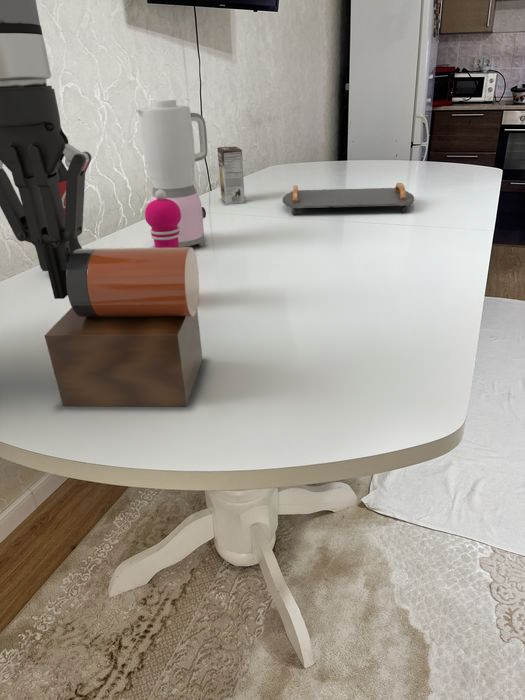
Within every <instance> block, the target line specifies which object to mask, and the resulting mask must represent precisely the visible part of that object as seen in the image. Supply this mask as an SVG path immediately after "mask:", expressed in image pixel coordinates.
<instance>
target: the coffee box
mask: <svg viewBox="0 0 525 700" xmlns="http://www.w3.org/2000/svg"><path fill="white" fill-rule="evenodd" d="M216 149H217V160H218V172H219V185H220V186H219V187H220V198H221V200H222V201H223V202H224V203H225V205H233V204H243V203H245V202H246V201H245V183H244V182H245V181H244V161H243V149H241V148H239V147H238V146H219V147H217V148H216Z"/></svg>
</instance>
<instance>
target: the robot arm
mask: <svg viewBox="0 0 525 700" xmlns="http://www.w3.org/2000/svg"><path fill="white" fill-rule="evenodd" d="M50 68H51V67H50V61H49V58H48V52H47V48H46V43H45V38H44V34H43V30H42V25H41V21H40V16H39V11H38V5H37V0H0V209H1V211H2V213H3V215H4V217H5V219H6V221H7V223H8V225H9V226H10V229H11V230H12V233H13V234H14V237H15V238H16V240H17V241H19V242H26V243H30V244H32V245H33V246H34V248H35V252H36V255H37V260H38V263H39V268H40V269H41V270H42V272H48V278H49V282H50V285H51V289H52V293H53V298H54V299H55V300H64V299H65V298H67V297H68V293H67V286H66V272H67V265H68V261H69V258H70V256H71V251H70V247H69V241H70V240H73V239H75V238H76V237H77V236H78V237H79V236H80V235H82V233H83V228H84V227H83V224H84V205H85V189H86V188H85V187H86V172H87V169H88V168H89V166H90V163H91V161H92V155H91V153H90V152H89V151H81V150H79V149H77V148H76V147H74V146H72V144H70V143H69V139H68V136H67V135H66V134H65V132H64V131H63V128H62V124H61V115H60V110H59V106H58V101H57V96H56V92H55V88H53V87H52V85H48V82H47V80H50V79H51V77H52V72H51V69H50ZM64 158H65V161H64V165H65V167H66V168H67V178H66V205H65V214H64V209H63V204H62V199H61V194H60V189H59V174H58V168H59V166H60V164H61V162H63V160H64ZM3 166H5V167H6V169H8V171H10V172H11V177H12V179H13V183H14V185H13V183H12V182H11V181H12V180H10V177H9V175H8V174H7V172H6V171H5V169H4V168H3ZM14 186H15V187H16V188H17V190H18V193H19V195H18V193H17V191H16V189H15V188H14ZM39 189H40V190H39ZM40 193H41V195H40ZM41 198H42V199H41ZM50 239H51V241H49V240H50Z"/></svg>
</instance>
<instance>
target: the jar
mask: <svg viewBox="0 0 525 700" xmlns="http://www.w3.org/2000/svg"><path fill="white" fill-rule="evenodd" d="M196 255H197V254H196V253H195V250H194V248H193V247H191V246H185V247H158V248H155V247H111V248H110V247H109V248H107V247H106V248H105V247H104V248H103V247H102V248H101V247H100V248H82V249H76V250H75V251H74V252H73V253H72V254H71V256H70V258H69V261H68V265H67V272H66V286H67V293H68V295H67V297H68V301H69V304H70V307H71V308H72V309H73V310H74V312H75V313H76V314H77V315H78V316H80V317H189V316H194V315H195V313H196V311H197V312H198V306H199V300H200V299H199V298H200V297H199V296H200V276H199V275H200V274H199V266H198V259H197V256H196Z"/></svg>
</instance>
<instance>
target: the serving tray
mask: <svg viewBox="0 0 525 700" xmlns="http://www.w3.org/2000/svg"><path fill="white" fill-rule="evenodd" d="M414 202H415V196H414V195H413V194H412V193H410V192H409V191H408V190H406V187H405V185H404V183H402V182H397V183H396V184H395V187H370V188H369V187H368V188H365V187H364V188H335V189H334V188H333V189H325V188H324V189H302V190H301V189H299V186H298V185H293V186H292V191H290V192H288V193H286V194H285V195H284V196H283V197H282V203H283V204H284V205H285V206H287V207H288V208H291V214H292V216H298V215H299V213H300V209H309V208H310V209H316V208H317V209H318V208H319V209H321V208H322V209H323V208H324V209H325V208H360V207H361V208H363V207H365V208H366V207H400V212H401V213H402V214H407V212H408V211H409V206H410V205H413V204H414Z"/></svg>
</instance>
